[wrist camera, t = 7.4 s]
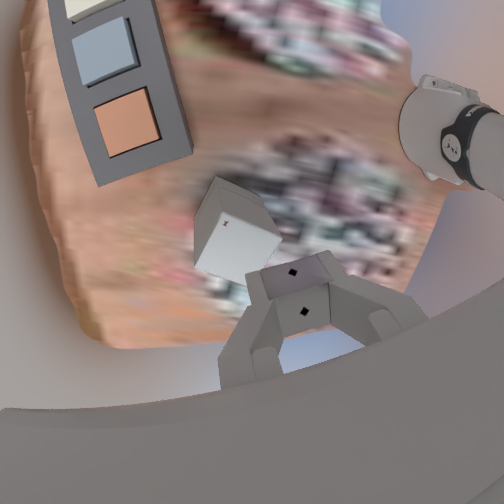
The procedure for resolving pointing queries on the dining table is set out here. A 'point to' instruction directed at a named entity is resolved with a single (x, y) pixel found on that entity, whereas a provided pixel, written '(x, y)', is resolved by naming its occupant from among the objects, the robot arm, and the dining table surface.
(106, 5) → the cream key
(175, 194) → the dining table surface
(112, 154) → the terracotta key
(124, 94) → the key console
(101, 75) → the slate key
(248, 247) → the supplement box
